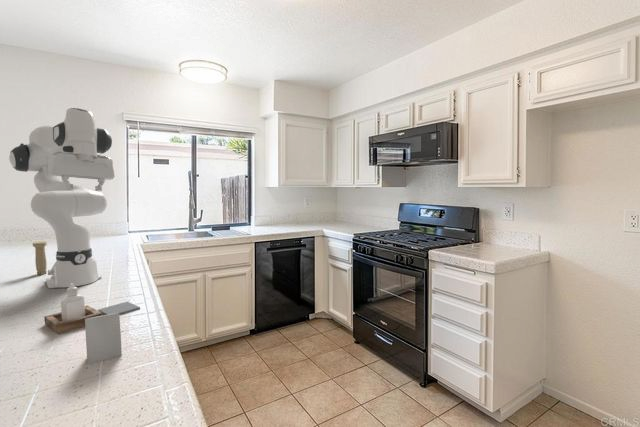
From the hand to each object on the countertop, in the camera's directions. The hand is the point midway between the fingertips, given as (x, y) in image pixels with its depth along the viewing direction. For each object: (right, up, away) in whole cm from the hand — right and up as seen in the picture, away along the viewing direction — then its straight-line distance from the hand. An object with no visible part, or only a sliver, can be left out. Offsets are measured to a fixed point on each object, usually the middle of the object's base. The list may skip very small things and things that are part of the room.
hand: (84, 190), depth 118 cm
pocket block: (+12, -41, -20) cm, 47 cm away
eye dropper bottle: (+12, -41, -20) cm, 47 cm away
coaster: (+19, -40, -10) cm, 46 cm away
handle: (-45, -37, +35) cm, 68 cm away
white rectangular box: (+33, -43, -40) cm, 67 cm away
